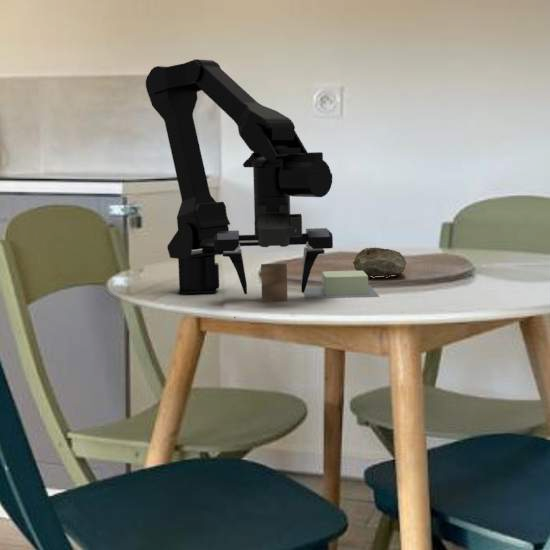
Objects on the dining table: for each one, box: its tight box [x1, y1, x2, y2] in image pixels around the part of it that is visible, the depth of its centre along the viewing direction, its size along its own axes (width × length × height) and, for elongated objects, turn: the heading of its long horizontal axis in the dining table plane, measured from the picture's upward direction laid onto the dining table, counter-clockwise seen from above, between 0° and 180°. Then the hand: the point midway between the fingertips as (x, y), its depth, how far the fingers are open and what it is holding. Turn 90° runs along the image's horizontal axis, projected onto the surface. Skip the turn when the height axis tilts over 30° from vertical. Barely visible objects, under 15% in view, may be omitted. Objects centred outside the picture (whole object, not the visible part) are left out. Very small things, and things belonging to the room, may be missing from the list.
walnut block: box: [260, 263, 288, 303], centre depth 150 cm, size 4×4×6 cm
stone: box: [352, 247, 407, 277], centre depth 174 cm, size 13×8×8 cm
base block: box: [321, 270, 369, 295], centre depth 157 cm, size 7×7×3 cm
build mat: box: [303, 284, 380, 300], centre depth 157 cm, size 12×12×1 cm
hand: (274, 293), depth 150 cm, fingers open, 9 cm apart
